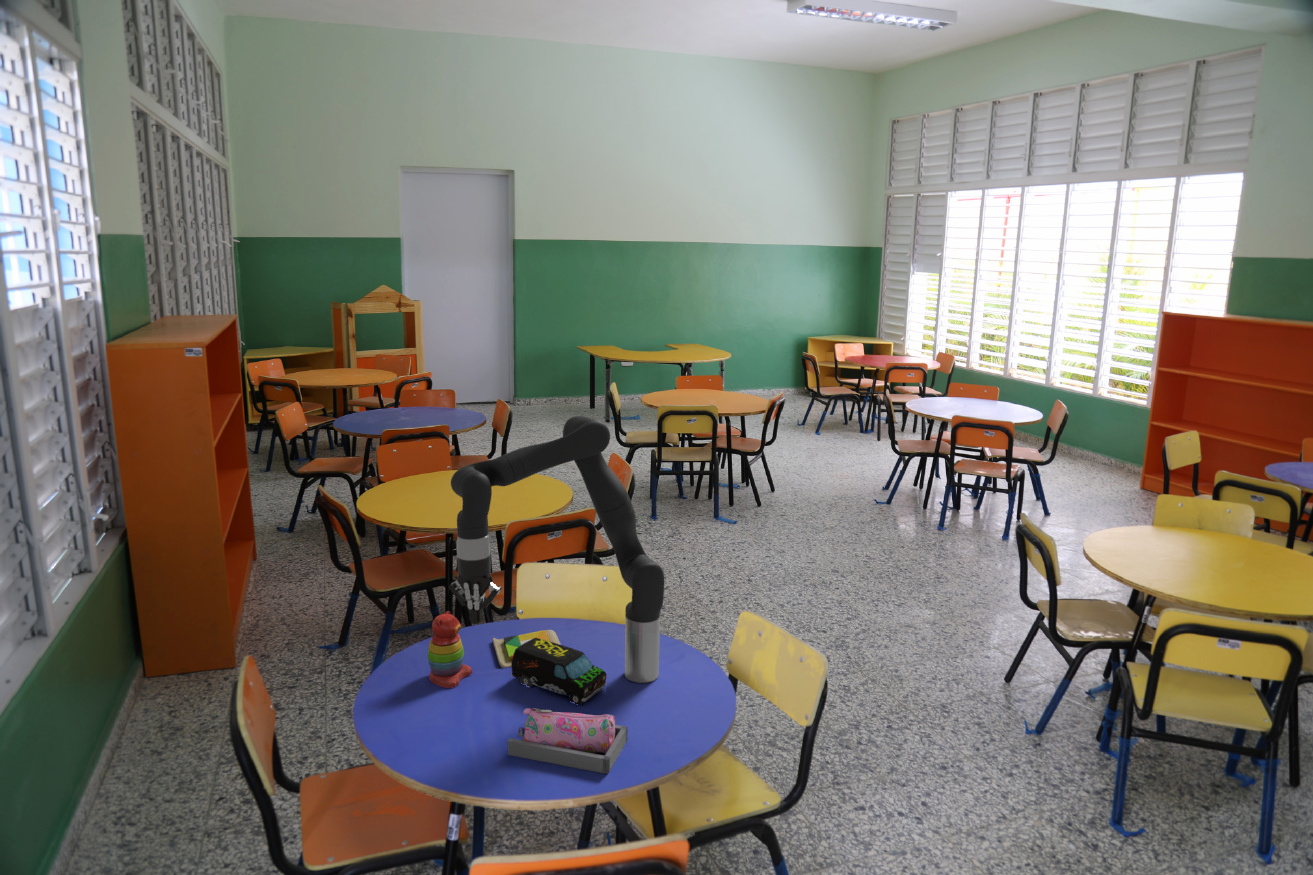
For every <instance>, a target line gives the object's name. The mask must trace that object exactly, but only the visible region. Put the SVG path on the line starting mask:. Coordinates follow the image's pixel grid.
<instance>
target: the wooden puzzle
mask: <svg viewBox="0 0 1313 875" xmlns="http://www.w3.org/2000/svg"><path fill="white" fill-rule="evenodd" d="M533 638H539V639H543V640H546V641H550V642H553V643H557V644H560V645H562V644H561V641H560V640H559V637H558V635H557V633H556V632H555V630H552V629H546V630H545V629H543V630H538V631H534V632H527V633H522V634H519V635H512V636H506V637H503V638H500V639H498V638H495V637H493V638H492V642H493V648H494V649H495V654H496V657H497V660H498V664H499V666H500V667H501V668H502V669H506V667H509V668H512V667H511V663H512V659H513V655H514V652H515V649H516V648H518V647H519V646H521V645H522V644H524V643H526V642H528V641H529V640H531V639H533Z"/></svg>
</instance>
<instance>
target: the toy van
mask: <svg viewBox="0 0 1313 875" xmlns="http://www.w3.org/2000/svg"><path fill="white" fill-rule="evenodd" d="M560 644H561V643H560ZM560 644H557V643H553V642H550V641H546V640H543V639H539V638H533V639H531V640H529V641H528V642H526V643H524V644H522V645H521V646H519V647H518V648H516V649H515V652H514V655H513V659H512V663H511V667H510V668H511V673H510V676H511V678H513V677H514V678H515V679H519V682H520V684H521V683H522V684H526V685H527V686H529V687H531V688H532V686H533V687H534V686H535V687H538V688H542V689H545V690H548V691H551V692H552V693H553V692H554V693H557V694H559V695H562V696H566V697H568V699H569V702H570V701H571V702H574V703H575V704H578V705H577V706H579V705H580V706H582V705H583V704H584V702H587V701H588V700H589V699H591V698H592V697H593V696H595V695H596V694H598V692H601V691H602V690H603V689H604V688H605V686H606V684H607V681H606V680H607V673H606V671H605V670H604V669H602V668H600V667H597V666H596V665H594V664H592V662H591V661H590V658H588V656H587V655H586V654H585V653H584V651H580V650H577V649H575V648H573V647H570V646H566V645H562V644H561V645H560ZM522 684H521V685H522Z"/></svg>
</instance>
